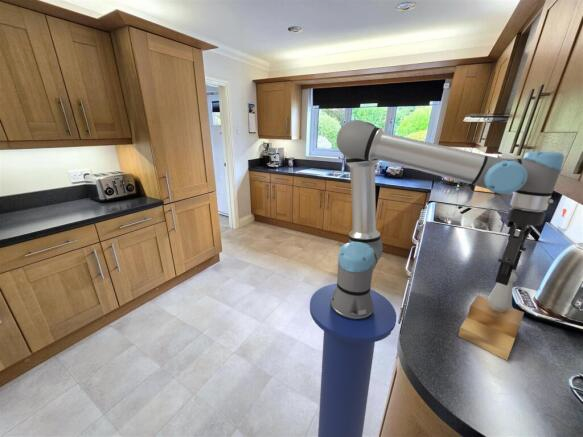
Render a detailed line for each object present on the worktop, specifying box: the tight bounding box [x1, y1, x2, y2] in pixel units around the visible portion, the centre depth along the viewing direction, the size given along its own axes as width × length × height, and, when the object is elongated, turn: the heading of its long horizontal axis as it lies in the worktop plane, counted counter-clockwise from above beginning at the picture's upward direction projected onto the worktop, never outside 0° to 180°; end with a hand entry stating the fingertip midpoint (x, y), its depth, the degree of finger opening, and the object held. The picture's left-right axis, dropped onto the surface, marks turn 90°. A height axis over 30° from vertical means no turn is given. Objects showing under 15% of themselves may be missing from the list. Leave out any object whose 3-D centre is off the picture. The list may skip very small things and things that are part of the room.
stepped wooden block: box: [457, 294, 525, 361], centre depth 76 cm, size 12×16×8 cm
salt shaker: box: [487, 271, 518, 312], centre depth 76 cm, size 6×6×13 cm
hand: (506, 275), depth 74 cm, fingers open, 13 cm apart
